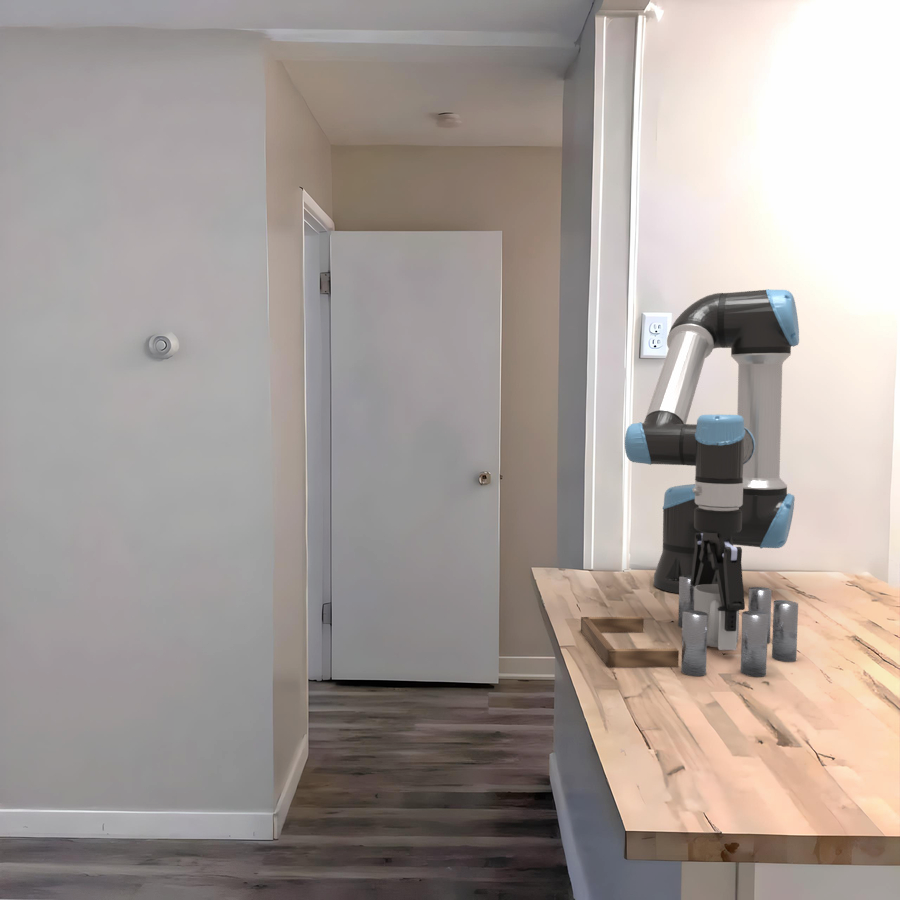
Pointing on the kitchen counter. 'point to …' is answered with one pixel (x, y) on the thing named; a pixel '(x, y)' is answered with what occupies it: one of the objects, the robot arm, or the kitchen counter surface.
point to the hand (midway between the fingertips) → (714, 639)
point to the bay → (625, 657)
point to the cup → (710, 610)
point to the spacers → (752, 631)
